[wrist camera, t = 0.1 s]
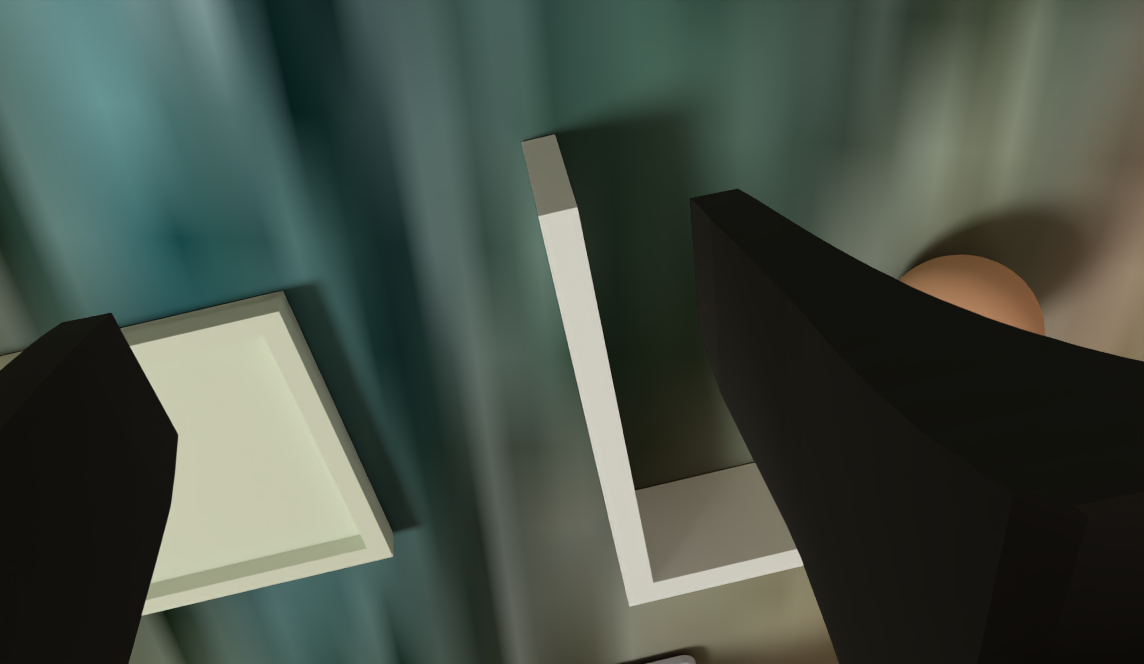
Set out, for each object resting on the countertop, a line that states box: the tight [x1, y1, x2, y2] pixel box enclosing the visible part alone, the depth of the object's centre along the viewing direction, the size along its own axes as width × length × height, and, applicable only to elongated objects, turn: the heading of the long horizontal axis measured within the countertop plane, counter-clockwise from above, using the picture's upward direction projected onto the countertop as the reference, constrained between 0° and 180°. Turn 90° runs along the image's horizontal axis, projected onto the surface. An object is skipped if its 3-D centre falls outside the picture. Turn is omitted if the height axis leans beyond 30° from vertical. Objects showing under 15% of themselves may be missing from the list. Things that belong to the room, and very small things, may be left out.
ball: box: [899, 254, 1045, 336], centre depth 24 cm, size 4×4×4 cm
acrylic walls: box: [521, 134, 804, 607], centre depth 24 cm, size 13×14×4 cm
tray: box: [0, 291, 393, 615], centre depth 25 cm, size 9×9×1 cm
